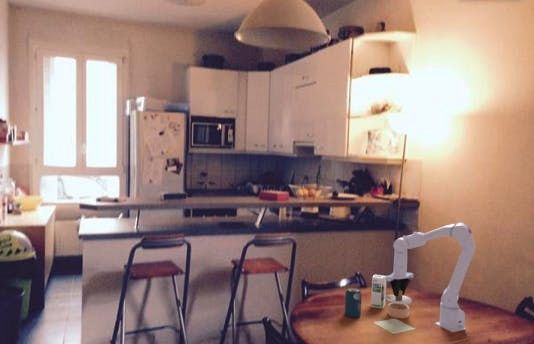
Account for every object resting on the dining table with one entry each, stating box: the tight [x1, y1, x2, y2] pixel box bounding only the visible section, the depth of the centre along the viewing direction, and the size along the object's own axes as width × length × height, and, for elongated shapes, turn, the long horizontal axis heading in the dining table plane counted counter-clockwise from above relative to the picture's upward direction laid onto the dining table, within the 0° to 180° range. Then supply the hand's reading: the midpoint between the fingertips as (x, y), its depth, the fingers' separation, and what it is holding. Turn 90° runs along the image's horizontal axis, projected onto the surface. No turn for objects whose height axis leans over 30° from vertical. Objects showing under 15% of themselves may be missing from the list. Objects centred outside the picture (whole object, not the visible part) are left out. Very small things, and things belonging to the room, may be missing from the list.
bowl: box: [387, 302, 410, 319], centre depth 193 cm, size 9×9×4 cm
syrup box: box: [370, 274, 387, 309], centre depth 203 cm, size 6×6×14 cm
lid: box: [385, 289, 413, 306], centre depth 192 cm, size 11×11×5 cm
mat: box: [373, 317, 416, 335], centre depth 180 cm, size 12×12×1 cm
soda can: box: [344, 287, 363, 319], centre depth 190 cm, size 7×7×12 cm
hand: (398, 295), depth 192 cm, fingers closed on lid, 3 cm apart
